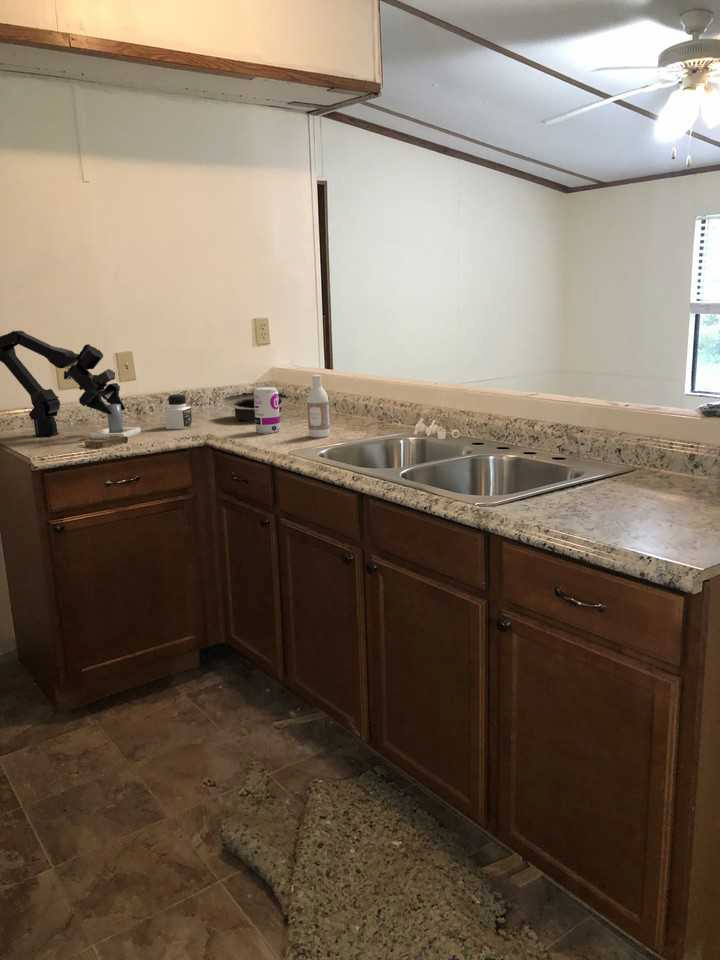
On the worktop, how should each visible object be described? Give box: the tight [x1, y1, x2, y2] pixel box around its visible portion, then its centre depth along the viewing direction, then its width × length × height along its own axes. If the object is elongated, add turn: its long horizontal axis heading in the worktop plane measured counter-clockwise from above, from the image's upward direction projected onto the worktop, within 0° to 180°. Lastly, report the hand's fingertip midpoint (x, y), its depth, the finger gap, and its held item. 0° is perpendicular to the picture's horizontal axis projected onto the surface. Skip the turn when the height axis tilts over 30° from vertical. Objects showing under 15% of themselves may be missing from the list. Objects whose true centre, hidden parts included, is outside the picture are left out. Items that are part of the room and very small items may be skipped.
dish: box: [90, 427, 142, 440], centre depth 268 cm, size 12×12×2 cm
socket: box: [84, 435, 129, 449], centre depth 253 cm, size 8×11×2 cm
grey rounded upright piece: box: [106, 403, 125, 433], centre depth 267 cm, size 6×6×10 cm
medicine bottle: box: [164, 393, 193, 430], centre depth 281 cm, size 7×7×12 cm
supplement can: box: [253, 386, 281, 435], centre depth 267 cm, size 8×8×15 cm
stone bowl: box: [223, 391, 290, 423], centre depth 297 cm, size 25×25×9 cm
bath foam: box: [306, 374, 330, 439], centre depth 255 cm, size 7×7×20 cm
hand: (117, 411), depth 266 cm, fingers open, 9 cm apart
